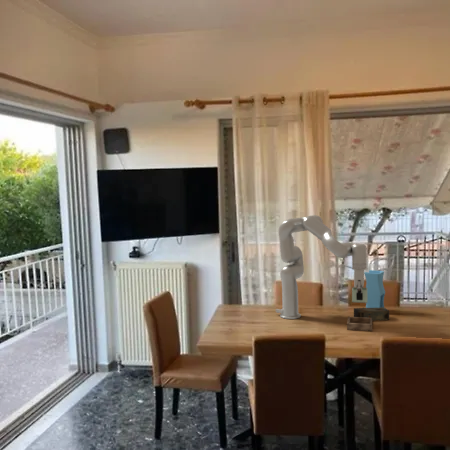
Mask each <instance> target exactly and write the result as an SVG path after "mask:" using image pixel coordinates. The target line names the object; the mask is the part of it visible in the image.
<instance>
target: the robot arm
mask: <svg viewBox="0 0 450 450" xmlns="http://www.w3.org/2000/svg"><path fill="white" fill-rule="evenodd" d="M305 231H307V232H309V233H310V234H312V235H313V236H315V237H316V238H317V239H319V241H321V243H322V244H323V246H324V247H325V248H326V249H327V250H328V251H329V252H330V253H332V254H333V255H335V256H336V257H337V258H341V259H343V258H347V257H350V256H351V257H352V258H351V265H352V266H351V267H352V270H354V271H353V273H354V274H353V287H357V293H356V296H357V300H363V293H362V288H364V285H365V273H364V272H365V270H367V265H368V264H367V245H366V244H364V243H350V242H344V243H342V242H340V241H338V239H336V238H335V237H334V235H333V234H332V229H331V228H330V227H328V226H327V225H326V224H324V221H323V219H322V217H321V216H319V215H316V214H313V215H307V216H302V217H295V218H288V219H286V220H283V222H281V223H280V225H279V226H278V239H279V249H280V258H281V261H282V262H283V263H285V264H287V265H284V266H282V269H281V270H280V273H279V274H280V281H281V295H282V296H281V297H282V299H281V302H282V305H281V306H282V308H281V309H279V308H275V313H277V314H279V313H280V314H279V316H280V318H282V319H287V320H295V319H299V318H301V316H302V314H301V313H299V288H298V287H299V286H298V282H297V279H299V278H301V277H302V276H303V275H304V273H305V271H304V270H305V266H304V258H303V257H304V256H303V251H302V249H301V248H300V247H299V246H296V245H295V241H294V240H295V239H294V237H293V233H299V232H305Z"/></svg>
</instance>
